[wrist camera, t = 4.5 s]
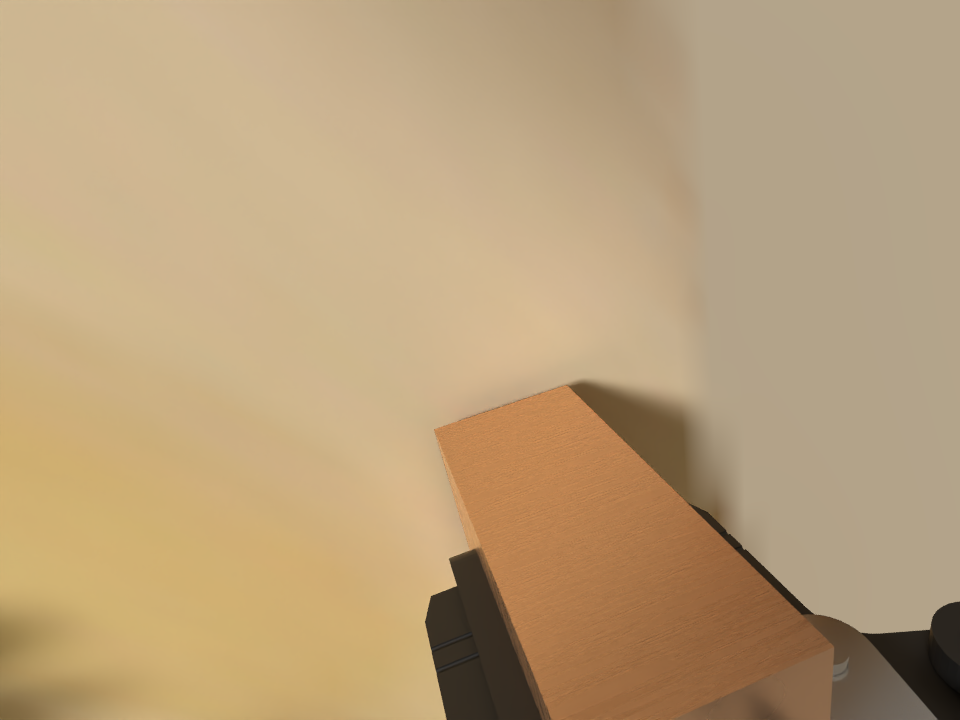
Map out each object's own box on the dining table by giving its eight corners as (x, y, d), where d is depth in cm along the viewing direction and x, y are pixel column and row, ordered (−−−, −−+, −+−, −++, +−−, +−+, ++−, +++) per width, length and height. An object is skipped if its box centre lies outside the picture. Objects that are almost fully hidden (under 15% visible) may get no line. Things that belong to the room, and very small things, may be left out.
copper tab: (434, 429, 12) (570, 765, 5) (566, 385, 12) (834, 647, 6) (485, 601, 14) (627, 991, 7) (597, 557, 14) (820, 889, 8)
